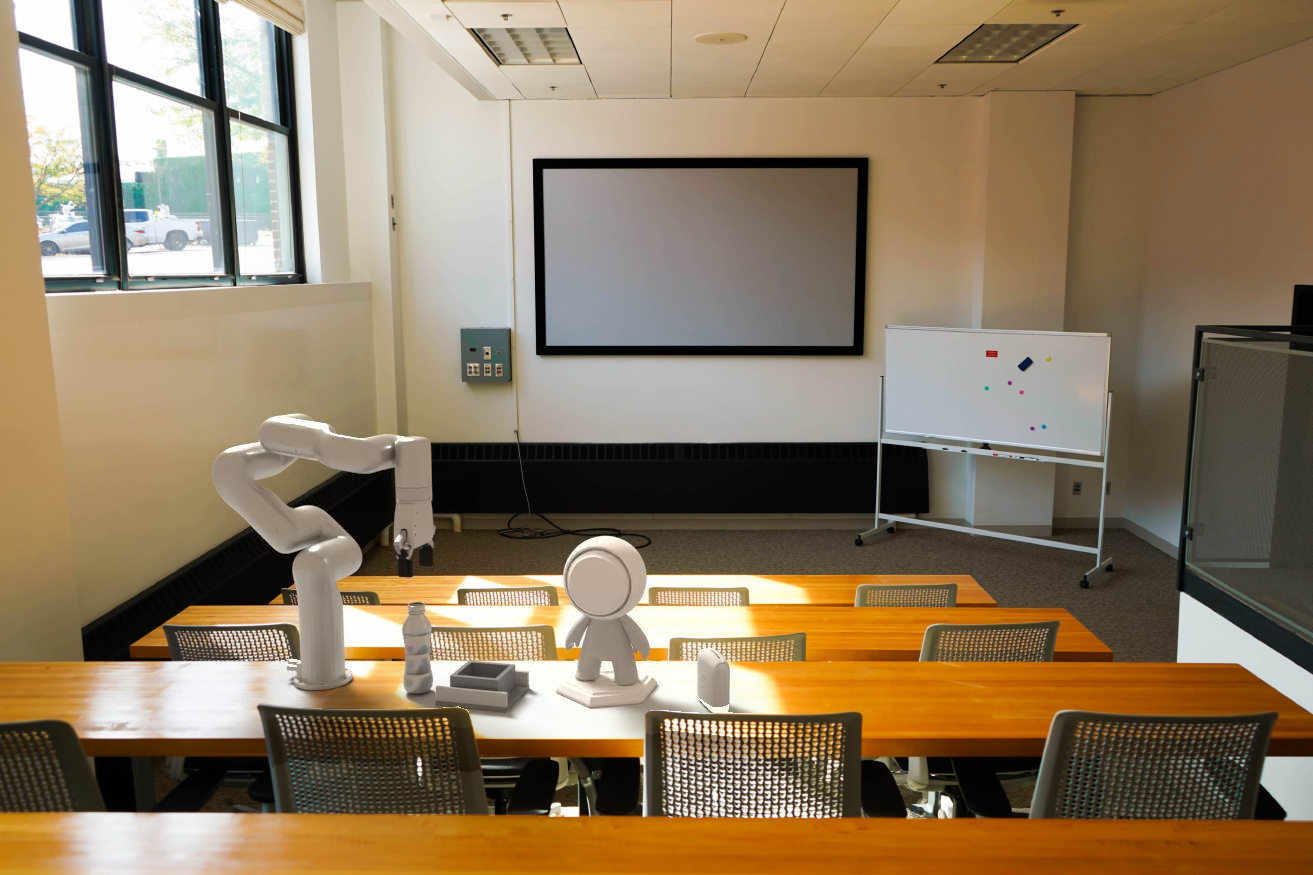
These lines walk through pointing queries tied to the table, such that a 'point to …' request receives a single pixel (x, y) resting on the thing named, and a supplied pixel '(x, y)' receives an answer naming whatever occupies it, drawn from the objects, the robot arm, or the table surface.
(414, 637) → the plastic bottle
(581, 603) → the white cartoon figure
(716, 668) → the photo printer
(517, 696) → the gray open square box
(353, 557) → the robot arm
